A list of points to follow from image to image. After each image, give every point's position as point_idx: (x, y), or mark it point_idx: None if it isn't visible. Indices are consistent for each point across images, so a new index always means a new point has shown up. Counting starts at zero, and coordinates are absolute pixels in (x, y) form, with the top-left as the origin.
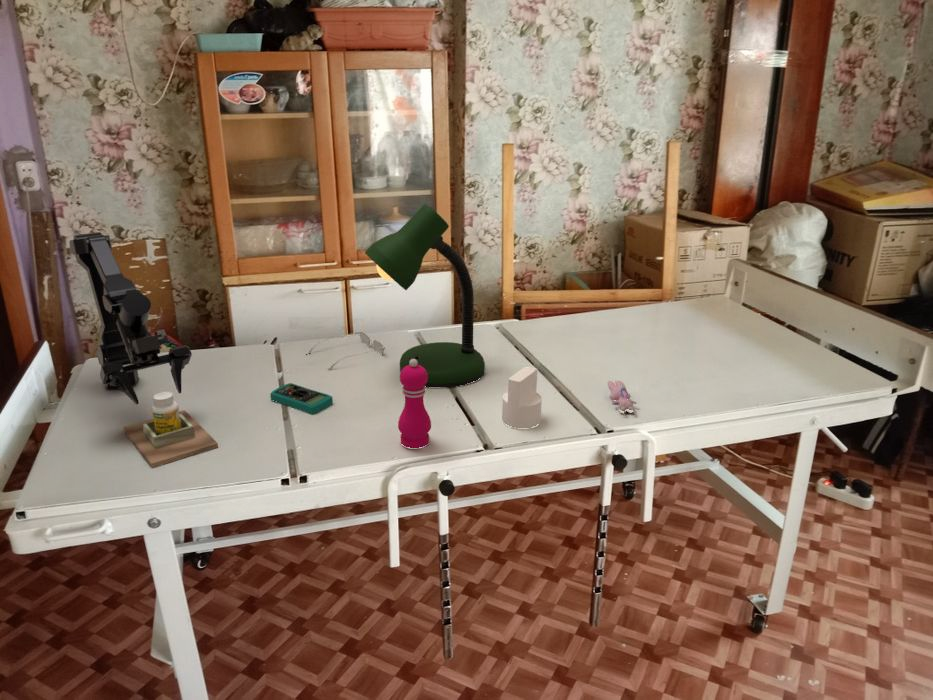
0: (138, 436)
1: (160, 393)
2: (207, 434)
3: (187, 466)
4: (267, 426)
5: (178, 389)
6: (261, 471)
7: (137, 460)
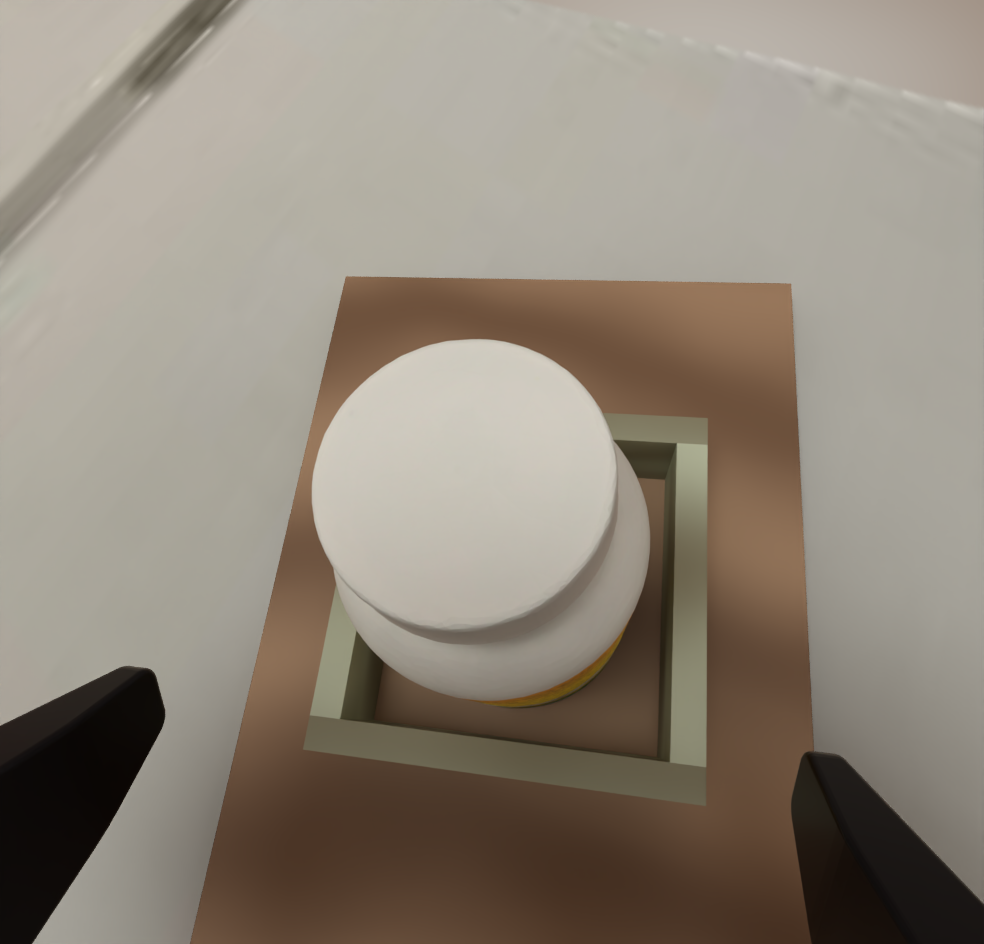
0: (748, 765)
1: (451, 574)
2: (321, 417)
3: (596, 208)
4: (15, 345)
5: (123, 713)
6: (351, 4)
7: (841, 453)
